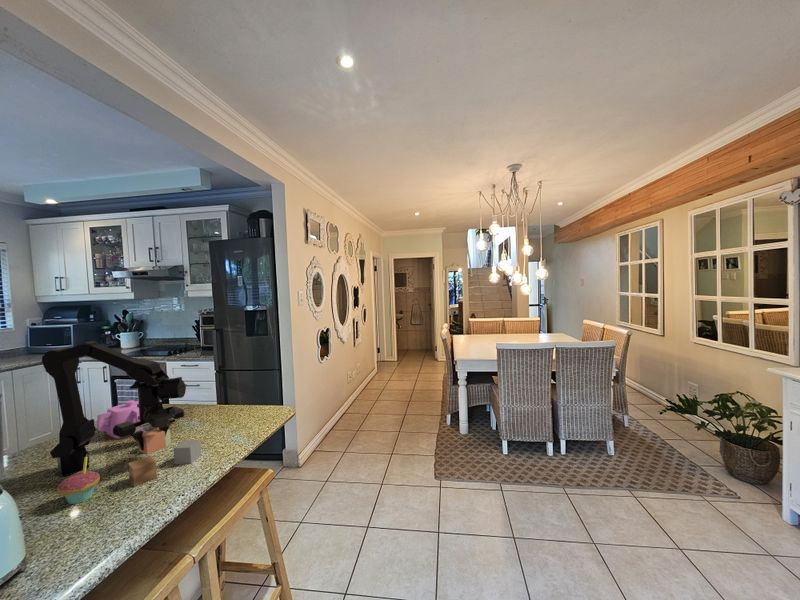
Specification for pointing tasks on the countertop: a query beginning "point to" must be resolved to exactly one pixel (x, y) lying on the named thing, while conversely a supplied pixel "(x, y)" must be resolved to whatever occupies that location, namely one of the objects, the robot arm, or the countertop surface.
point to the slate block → (187, 452)
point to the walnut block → (142, 471)
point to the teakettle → (118, 417)
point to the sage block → (168, 438)
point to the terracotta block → (153, 441)
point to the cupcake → (79, 485)
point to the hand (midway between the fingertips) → (152, 446)
